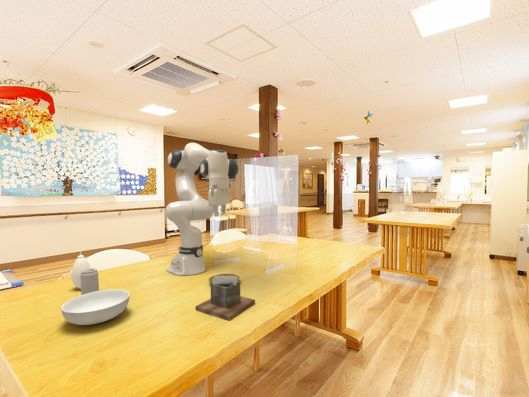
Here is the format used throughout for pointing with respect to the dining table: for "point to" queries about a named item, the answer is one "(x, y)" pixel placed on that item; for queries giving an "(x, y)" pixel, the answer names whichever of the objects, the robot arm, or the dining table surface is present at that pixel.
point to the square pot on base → (225, 302)
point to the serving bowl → (95, 306)
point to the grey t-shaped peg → (225, 280)
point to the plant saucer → (221, 275)
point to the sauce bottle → (79, 270)
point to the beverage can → (89, 281)
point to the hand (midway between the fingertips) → (219, 215)
